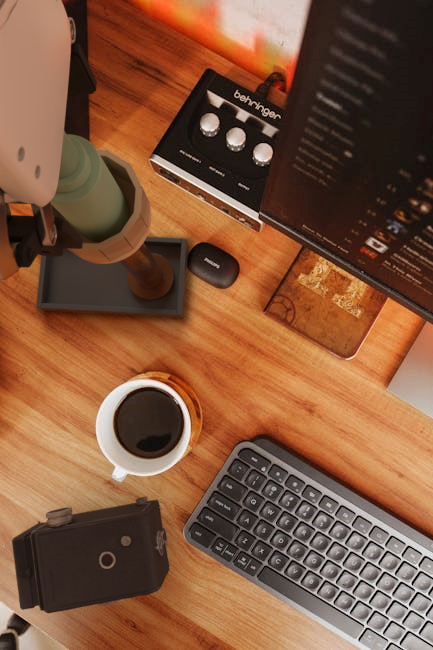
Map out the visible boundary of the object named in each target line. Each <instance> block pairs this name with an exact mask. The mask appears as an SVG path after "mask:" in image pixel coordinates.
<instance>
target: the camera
mask: <svg viewBox="0 0 433 650" xmlns="http://www.w3.org/2000/svg"><path fill="white" fill-rule="evenodd" d="M134 500H135V502H133V503H128V504H123V505H116V506H111V507H106V508H105V507H104V508H99V509H94V510H88V511H83V512H77V513H73V508H72V506H67V507H61V508H57V509H52V510H50V511H47V512H46V513H45V518H46V521H44V522H41V521H37V523H36V524H34V525H32V526H31V527H29V528H28V529H26V530H24V531H22V532H21V533H19V534H18V535H16V536H14V537H13V538H12V540H11V544H12V545H11V546H12V553H13V561H14V570H15V577H16V584H17V585H16V587H17V593H18V600H19V602H18V603H19V608H20V609H21V610H22V611H23V610H29V609H30V610H31V609H35V608H36V607H38V608H39V610H40V611H41V612H43V611H44V612H45V614H53V613H60V612H64V611H65V612H66V611H70V610H74V609H79V608H85V607H90V606H96V605H99V606H109V605H113V604H116V603H118V602H119V601H121V600H126V599H131V598H132V599H133V598H137V597H142V596H148V595H151V594H154V593H157V592H158V591H159V590H160V589H161V588H162V586H163V584H164V582H165V580H166V577H167V575H168V573H169V571H170V570H171V568H170V567H171V565H172V564H171V562H170V560H169V554H168V550H167V549H168V547H167V543H166V542H168V540H169V539H168V533H167V528H165V527H164V526H163V519H162V513H161V510H162V509H163V507H162V506H160V501H159V499H151V500H148V496H141V497H137V498H134Z"/></svg>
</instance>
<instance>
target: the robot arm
mask: <svg viewBox="0 0 433 650" xmlns="http://www.w3.org/2000/svg"><path fill="white" fill-rule="evenodd" d="M76 34H77V31H76V24H75V20H74V19H73V17H71V16H69V17H68V14H67V11H66V8H65V6H64V3H63V1H62V0H0V281H5V280H8V279H9V278H11V277H12V276H13V275H15V274H17V273H19V271H20V269H21V268H26V269H27V268H31V266H32V265H33V263H34V261H35V260H36V259H37V257H38V255H39V256H41V255H43V256H62V255H63V248H70V249H82V246H83V239H82V238H81V235H80V234H79V233H78V232H77V231H76V230H75V229H74V228H73V227H71V226H70V225H69V224H68V223H67V222H66V221H65V220H64V219H63V218H60V217H54V215H53V210H52V206H51V202H50V201H51V200H52V198H53V197H54V195H55V193H56V189H57V185H58V179H59V172H60V163H61V154H62V145H63V134H64V131H65V123H66V113H67V101H68V95H94V93H95V92H96V91H97V88H98V87H97V85H98V81H97V79H96V77H95V74H94V72H93V70H92V68H91V65H90V64H89V62H88V60H87V59H88V58H87V57H86V55H85V53H84V51H83V49H82V47H81V45H80V44H78V43H77V44H75V42H76V38H77V37H76V36H77V35H76ZM10 204H14V205H15V204H16V205H17V204H18V205H30V208H31V212H32V215H20V214H12V211H11V207H10Z"/></svg>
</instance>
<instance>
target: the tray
mask: <svg viewBox="0 0 433 650" xmlns="http://www.w3.org/2000/svg"><path fill="white" fill-rule="evenodd" d="M188 241H189V240H188V239H187V238H185V237H182V238H181V237H165V236H164V237H162V236H147V237H146V239H145V241H144V244H145V245H146V247H147V249H148V250H149V252H150V253H153V254H158V255H161V256H163V257H164V258H166V259H167V260H168V261H169V262H170V264H171V266H172V267H173V270H174V274H175V281H174V285H173V287H172V289H171V291H170V292H169V293H168V294H167V295H166V296H165V297H163V298H161V299H159V300H155V301H148V300H144V299H141V298H139V297H138V296H137V295H135V294H134V293H133V292H132V290H131V289H130V287H129V285H128V281H127V274H128V270H127V269H126V268H125V267H124V266H123V265H122V264H121V263H120V262H119V261H118V262H115V263H109V264H97V263H92V262H88V261H86V260H83V259H82V258H80V257H78V256H77V255H75V254H74V253H73V252H71V251H70V250H68V249H67V248H63V255H62V256H43V255H40V265H39V276H38V285H37V297H36V309H37V310H38V309H39V310H41V311H43V312H58V313H59V312H62V313H80V314H98V315H99V314H100V315H116V316H117V315H118V316H137V317H154V318H155V317H156V318H157V317H158V318H175V319H176V318H177V319H184V317H185V315H184V314H185V302H186V300H185V299H186V286H187V285H186V284H187V272H188V256H189V242H188Z"/></svg>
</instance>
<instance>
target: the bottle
mask: <svg viewBox="0 0 433 650" xmlns="http://www.w3.org/2000/svg"><path fill="white" fill-rule="evenodd" d="M50 202H51V204H52V205H53V206H54V207H55V208H56V209H57V210H58V211H59V212H60V213H61V214H62V215H63V216H64V217H65V218H66V219H67V220H68V221H69V222H70V223H71V224H72V225H73V226H74V227H75V228H76V229H77V230H78V231H79V232H80V233H81V234H82V235H83V236H84V237H86V238H88V239H90V240H92V241H97V242H102V241H104V240H106V239H108V238H110V237H112V236H114V235H116V234H118V233H120V232H121V231H122V229H123V228H124V226H125V225H126V223H127V222H128V220H129V218H130V208H129V204H128V202H127V200H126V198H125V196H124V195H123V193H122V191H121V190H120V188H119V186H118V185H117V183H116V181H115V180H114V178H113V176H112V175H111V173H110V171H109V170H108V168H107V166H106V165H105V163H104V161H103V159H102V158H101V156H100V154H99V153H98V151H97V148H96V147H95V145H94V144H93V143H91V141H89V140H88V139H86V138H84V137H83V136H80V135H76V134H70V133H69V134H68V133H66V131H65V130H64V134H63V145H62V154H61V163H60V172H59V179H58V185H57V189H56V193H55V195H54V197H53V198H52V200H51V201H50Z"/></svg>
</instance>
